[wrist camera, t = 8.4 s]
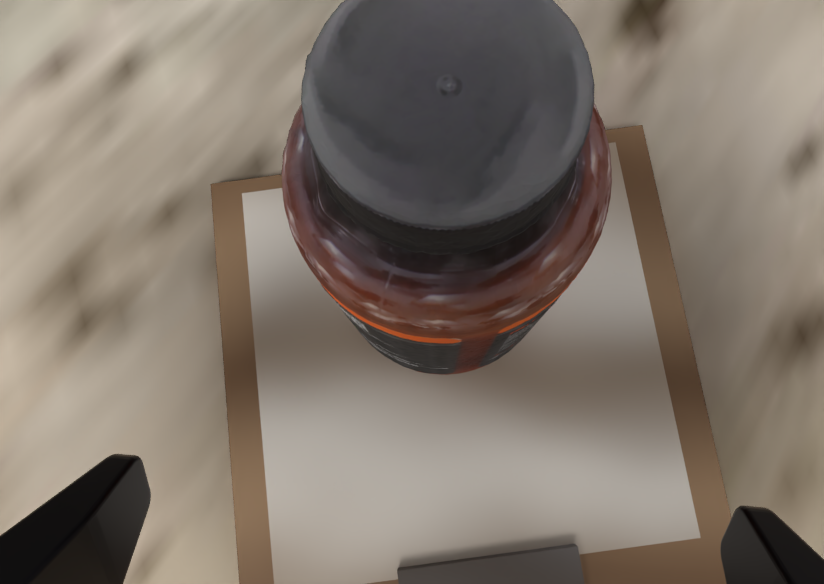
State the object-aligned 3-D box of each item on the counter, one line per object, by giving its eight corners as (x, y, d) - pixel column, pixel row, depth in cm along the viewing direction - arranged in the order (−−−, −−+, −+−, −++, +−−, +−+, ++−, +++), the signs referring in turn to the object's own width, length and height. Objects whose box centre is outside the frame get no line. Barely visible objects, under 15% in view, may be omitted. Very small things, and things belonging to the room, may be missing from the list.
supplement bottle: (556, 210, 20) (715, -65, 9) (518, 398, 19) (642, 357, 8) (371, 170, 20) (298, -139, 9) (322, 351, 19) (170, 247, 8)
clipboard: (738, 584, 18) (756, 594, 17) (249, 651, 18) (239, 664, 17) (637, 132, 21) (647, 117, 20) (216, 189, 21) (205, 178, 20)
